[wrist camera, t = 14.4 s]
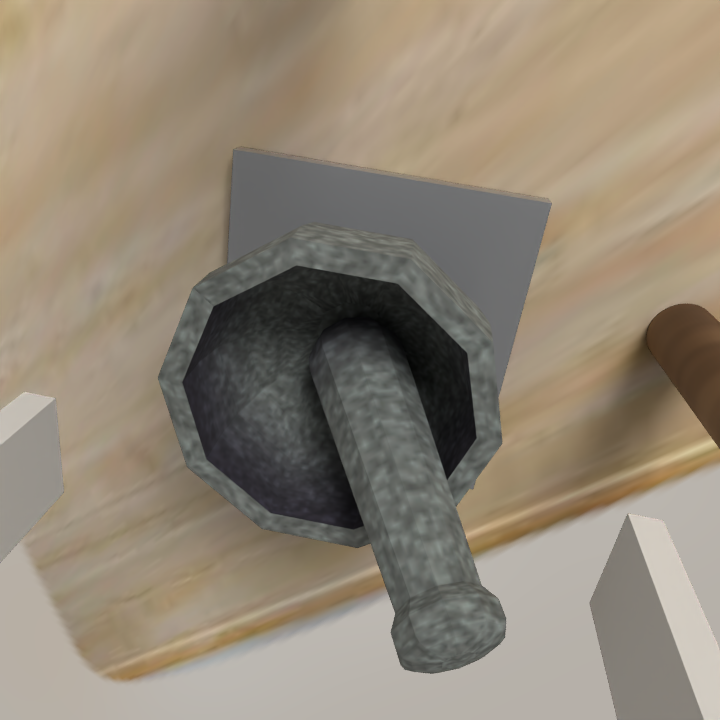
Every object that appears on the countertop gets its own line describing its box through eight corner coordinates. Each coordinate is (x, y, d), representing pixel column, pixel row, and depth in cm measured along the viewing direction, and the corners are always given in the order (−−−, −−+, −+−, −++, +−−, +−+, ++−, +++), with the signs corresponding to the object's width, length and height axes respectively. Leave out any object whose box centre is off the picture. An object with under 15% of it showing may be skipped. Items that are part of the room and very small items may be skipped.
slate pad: (548, 198, 22) (551, 203, 21) (472, 478, 27) (473, 489, 26) (240, 146, 23) (233, 149, 22) (223, 430, 28) (217, 440, 27)
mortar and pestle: (185, 310, 25) (-19, 502, 14) (350, 130, 21) (250, 198, 10) (387, 491, 27) (348, 775, 16) (566, 357, 23) (669, 605, 13)
